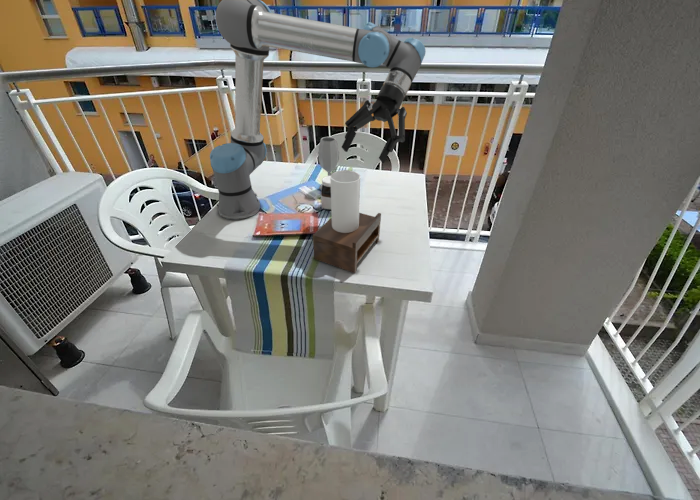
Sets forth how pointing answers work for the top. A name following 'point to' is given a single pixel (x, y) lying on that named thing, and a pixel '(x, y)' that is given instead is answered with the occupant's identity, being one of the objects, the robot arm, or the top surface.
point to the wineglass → (328, 154)
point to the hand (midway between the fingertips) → (362, 155)
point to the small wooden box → (346, 242)
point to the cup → (345, 200)
